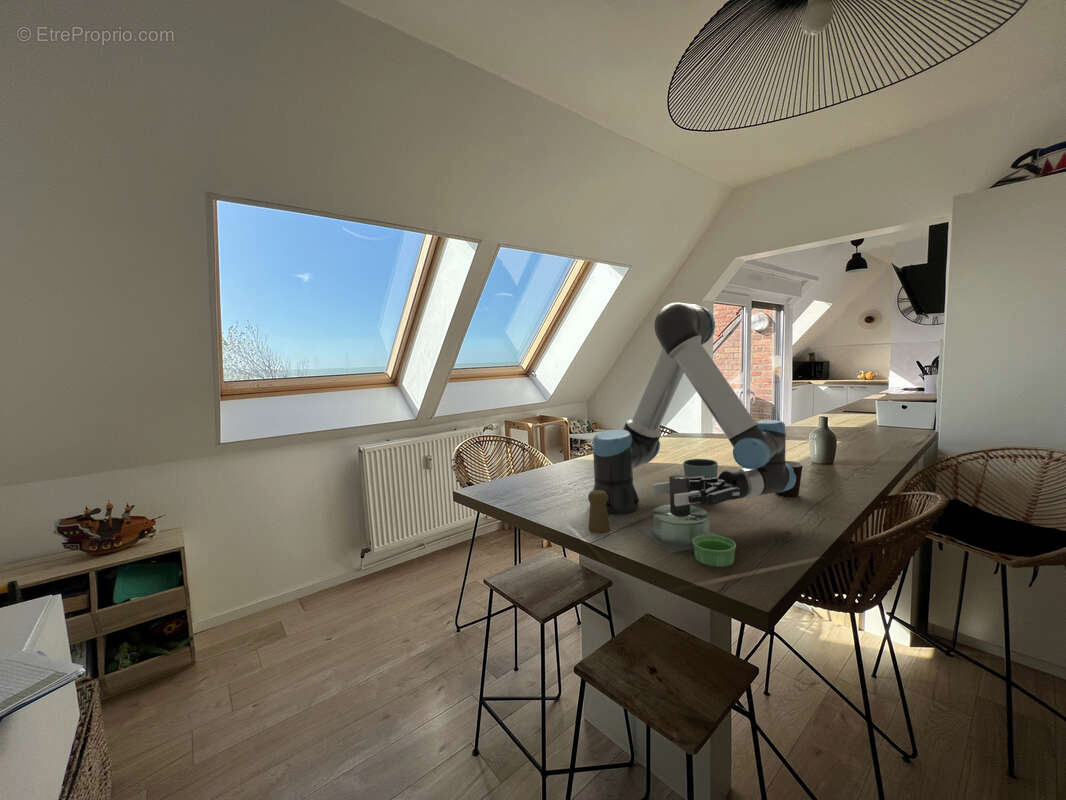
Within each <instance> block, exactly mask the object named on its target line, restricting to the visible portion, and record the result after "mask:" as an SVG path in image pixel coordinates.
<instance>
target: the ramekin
mask: <svg viewBox="0 0 1066 800" xmlns="http://www.w3.org/2000/svg"><path fill="white" fill-rule="evenodd" d="M692 542H693V546H694V549H693V550H694V551H693V552H694V553H693V554H694V558H695V560H696V561H698V562H699V563H701V564H703V565H707V566H710V567H719V568H720V567H729V566H731V565H733V564H734V562H735V555H736V548H737V544H736V542H735V541H734V540H733V539H731V538H729V537H727V536H723V535H719V534H716V535H700V536H697V537H695V538H694V539H693V541H692Z"/></svg>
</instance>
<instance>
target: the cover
mask: <svg viewBox="0 0 1066 800" xmlns="http://www.w3.org/2000/svg"><path fill="white" fill-rule="evenodd" d="M668 478H669V479H668V480H669V482H670V493H669V504H663V505H660V506H657V507H655V508H654V509H653V512H652V513H653V514H652V516H653V517H652V518H653V520H652V521H653V526H654V537H656V538H657V539H659V540H660V541H661V542H665V543H669V544H673V545H681V546H693V542H692V541H693V539H694V538H695V537H697V536H700V535H710V534H709V531H710V518H709V512H708V511H707V510H705V509H704V508H701V507H699V506H695V505H692V504H688V505H682V506H675V504H674V494H680V493H687V492H690V478H689V477H688V476H685V474H684V475H682V474H680V475H679V474H675V475H670V476H669V477H668Z"/></svg>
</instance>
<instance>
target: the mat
mask: <svg viewBox="0 0 1066 800" xmlns="http://www.w3.org/2000/svg"><path fill="white" fill-rule="evenodd" d="M636 530H637V531H639V532H640V533H642V534H644V535H645V536H646V537H647V538H649V539H651V540H652V541H653V542H655V543H656V544H657V545H659V546H661V548H664V549H665V550H667V552H669V553H672V554H673V553H677V552H683V551H688V550H694V546H681V545H673V544H669V543H665V542H661V541H660V540H659V539H657V538H656V537H654V525H652V526H645V527H639V528H636ZM709 534H710V535H717V534H716V533H714V532H712V531H710V530H709Z"/></svg>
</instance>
